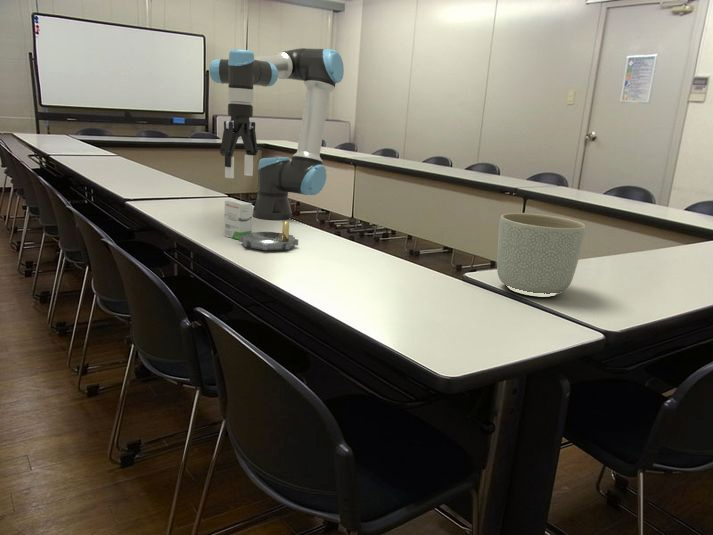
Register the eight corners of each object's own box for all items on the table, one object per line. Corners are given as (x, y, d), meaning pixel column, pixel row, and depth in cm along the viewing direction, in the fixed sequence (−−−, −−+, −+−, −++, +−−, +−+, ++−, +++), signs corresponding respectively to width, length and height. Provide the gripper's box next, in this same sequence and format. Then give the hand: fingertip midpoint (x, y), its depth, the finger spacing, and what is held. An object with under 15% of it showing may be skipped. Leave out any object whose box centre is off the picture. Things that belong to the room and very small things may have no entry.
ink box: (252, 239, 186) (253, 203, 182) (240, 241, 182) (240, 204, 179) (235, 234, 191) (236, 199, 188) (223, 235, 187) (223, 200, 184)
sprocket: (300, 239, 187) (301, 215, 185) (295, 252, 169) (296, 225, 167) (244, 235, 186) (245, 211, 184) (234, 248, 168) (234, 221, 166)
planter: (573, 309, 138) (587, 232, 133) (485, 295, 144) (496, 220, 139) (573, 288, 157) (585, 219, 152) (495, 275, 163) (505, 209, 158)
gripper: (250, 104, 187) (248, 173, 193) (207, 100, 167) (207, 177, 172) (270, 105, 184) (268, 175, 190) (229, 102, 164) (228, 180, 170)
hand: (239, 176), depth 181 cm, fingers open, 10 cm apart
